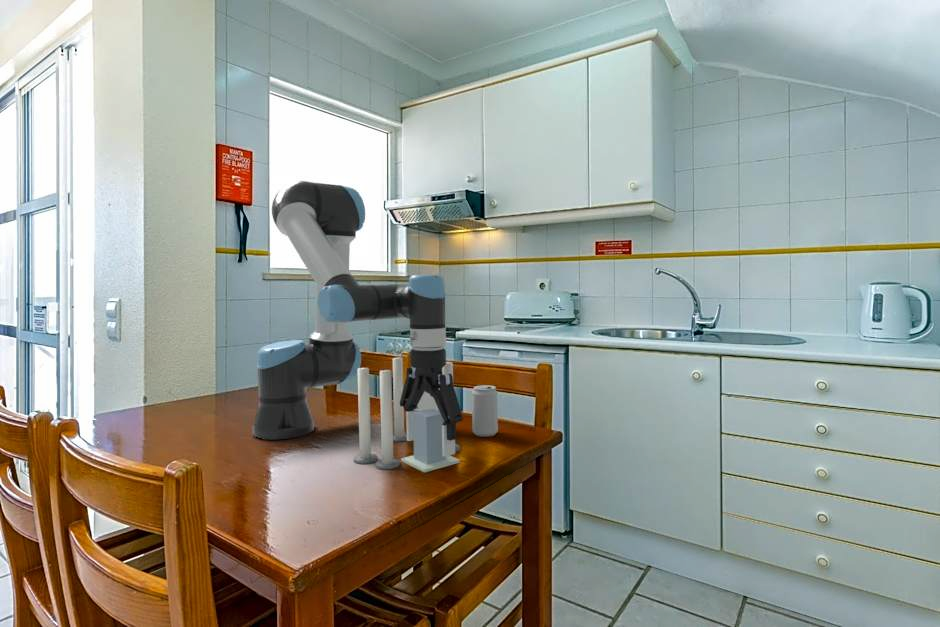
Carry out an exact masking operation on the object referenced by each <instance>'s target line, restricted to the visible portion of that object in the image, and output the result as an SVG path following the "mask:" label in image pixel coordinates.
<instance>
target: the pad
mask: <svg viewBox="0 0 940 627" xmlns="http://www.w3.org/2000/svg"><path fill="white" fill-rule="evenodd" d="M446 457H447V459H446V460H442V461H439V462H435V463H432V464H428V465H427V464H424V463H422V462H420V461H418V460H416V459H414V454H413V455H409V456H406V457H402V458H400V462H402V463H404V464H405V465H408V466H410V467H412V468H415V469H417V470H418V471H421V472H422V473H428V472H432V471H434V470H438V469H441V468H445V467H449V466H452V465H455V464H456V465H457V464H460V463H461V462H460V461H461V460H460V459H459V458H457V457H454V456H452V455H449V456H446Z"/></svg>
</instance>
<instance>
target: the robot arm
mask: <svg viewBox="0 0 940 627" xmlns="http://www.w3.org/2000/svg"><path fill="white" fill-rule="evenodd" d="M271 204H272V205H271V216H272V220H273V222H274V224H275V226H276V228H277V230H278V231H279V232H280V233H281V234H282V235H284V236H285V237H287V238H288V239H289V241H290V243H291V244H292V245H293V248H294V249H295V251H296V252H297V254H298V256H299V258H300V259H301V261H302V263H303V264H304V265H305V268H306V269H307V271H308V272H309V274H310V275H311V277H312V279H313V280H314V282H315V319H314V320H315V323H314V324H315V330H314V331H313V332H311V334H310V335H309V338H308V339H309V341H308V344H306V343H305V342H304V340H303V339H293V340H283V341H277V342H274V343H269V344H267V345H264V346H262V347H261V348H260V349H259V350H258V352H257V360H256V361H257V364H256V368H257V384H258V385H257V387H258V391H257V392H258V406H257V410H256V414H255V417H254V423H253V424H252V436H253V435H254V436H255V437H254V436H253V437H254V438H256V437H258V438H257V439H259V438H262V439H261V440H267V439H268V440H269V441H273V440H287V439H292V438H298V437H302V436H304V435H308V434H310V433H312V432H313V431H314V430H315V420H314V418H313V417H312V412H311V410H310V409H311V408H310V407H309V404H308V400H307V389H310V388H318V387H319V388H320V387H324V386H330V385H331V386H332V385H340V384H343V383H347V382H351V381H352V380H353V379H355V378H356V376H358V370H357V369H358V368H361V363H362V353H361V351H360V346H359V344H358V343H357V342H356V341H355V340H354V336H353V335H352V333H350V332H349V330H348V326H349V325H348V323H349V322H361V321H376V320H378V321H381V320H393V319H404V320H405V319H407V320H409V329H410V330H409V332H410V334H409V338H410V339H409V340H410V343H409V344H410V347H411V348H412V349H410V352H409V353H410V356H409V357H410V360H409V361H410V366H411V367H406V375H405V376H406V377H405V380H404V383H403V392H402V396H401V399H400V406H401V407H402V406H403V407H404V412H405V423H406V434H407V441H406V442H411V441H414V438H413V413H414V412H418V410H415V409H418V408H417V407H418V406H417V405H418V403H419V401H420V399H421V397H422V395H423V393H424V392H427V393H429V394H430V396H432V397H433V398H434V400H435V402H436V404H437V407H438V409H439V411H440V413H441V416H442V418H443V420H444V422H443V424H442V456H444V457H445V456H449V455H450V456H452V455H455V454H456V452H455V444H456V439H457V424H458V423H460V422H463V421H464V416H463V414H462V411H461V407H460V403H459V400H458V397H457V394H456V390H455V386H454V376H453V377H452V374H445V375H443V373H442V368H443V367H444V366H445V365H446V362H447V350H446V349H445V348H444V347H445V346H447V334H446V333H447V328H446V296H447V295H446V294H447V293H446V288H445V279H444V277H443V276H442V275H439V274H415V275H411V276H409V279H408V284H370V285H369V284H366V285H365V284H359V283H358V282H357V280H356V278H355V277H354V275H353V274H352V273H351V271H350V247H351V243H352V242H353V241H354V240H355V239H356V235H357V234H356V233H357V232H358V231H361V229H362V228H363V227H364V223H365V221H366V207H365V202H364V201H363V198H362V196H361V195H360V193H359V192H358V191H357V190H356V189H355V188H352V187H350V186H345V185H340V184H330V183H329V184H328V183H320V182H313V181H311V182H310V181H308V180H307V181H305V180H297V181H291V182H289V183H287V184H285V185H284V186H283V187H281V188H280V189H279V190H278V192H277V193H276V194H275V196H274V198H273V200H272V203H271ZM446 385H447V386H446ZM439 388H440V390H438V389H439ZM448 416H449V418H448Z"/></svg>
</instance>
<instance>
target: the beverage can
mask: <svg viewBox="0 0 940 627" xmlns="http://www.w3.org/2000/svg"><path fill="white" fill-rule="evenodd" d="M472 389H473V390H472V391H471V411H472V412H471V413H472V416H471V419H472V420H471V421H472V424H471V425H472V433H473V434H474V435H475V436H477V437H482V438H483V437H484V438H486V437H487V438H488V437H493V436H495V435H496V434H497V433H498V431H499V424H498V422H499V420H498V416H499V415H498V414H499V413H498V391H497V390H496V389H497V387H496V386H495V385H490V384H489V385H488V384H487V385H486V384H481V385H480V384H479V385H476V386H473V388H472Z"/></svg>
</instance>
